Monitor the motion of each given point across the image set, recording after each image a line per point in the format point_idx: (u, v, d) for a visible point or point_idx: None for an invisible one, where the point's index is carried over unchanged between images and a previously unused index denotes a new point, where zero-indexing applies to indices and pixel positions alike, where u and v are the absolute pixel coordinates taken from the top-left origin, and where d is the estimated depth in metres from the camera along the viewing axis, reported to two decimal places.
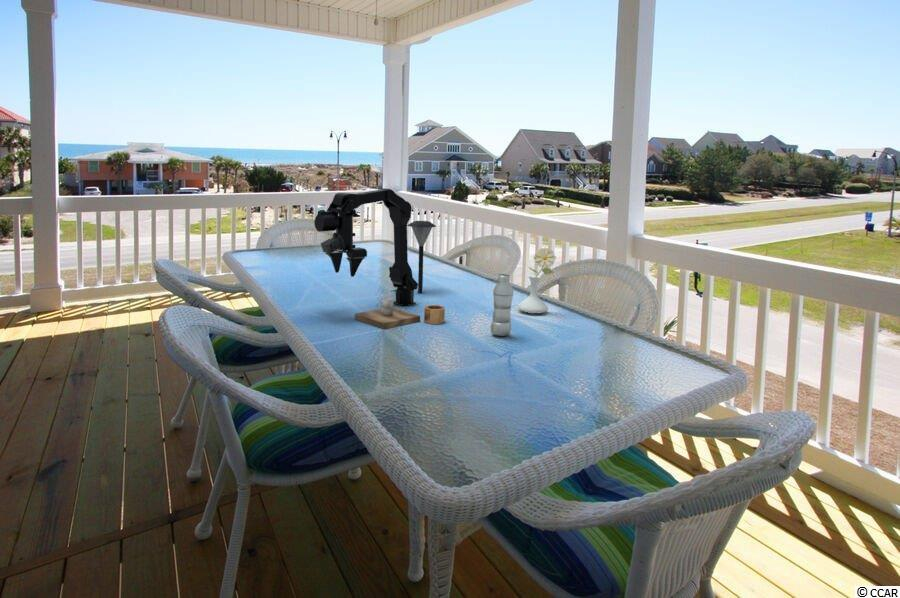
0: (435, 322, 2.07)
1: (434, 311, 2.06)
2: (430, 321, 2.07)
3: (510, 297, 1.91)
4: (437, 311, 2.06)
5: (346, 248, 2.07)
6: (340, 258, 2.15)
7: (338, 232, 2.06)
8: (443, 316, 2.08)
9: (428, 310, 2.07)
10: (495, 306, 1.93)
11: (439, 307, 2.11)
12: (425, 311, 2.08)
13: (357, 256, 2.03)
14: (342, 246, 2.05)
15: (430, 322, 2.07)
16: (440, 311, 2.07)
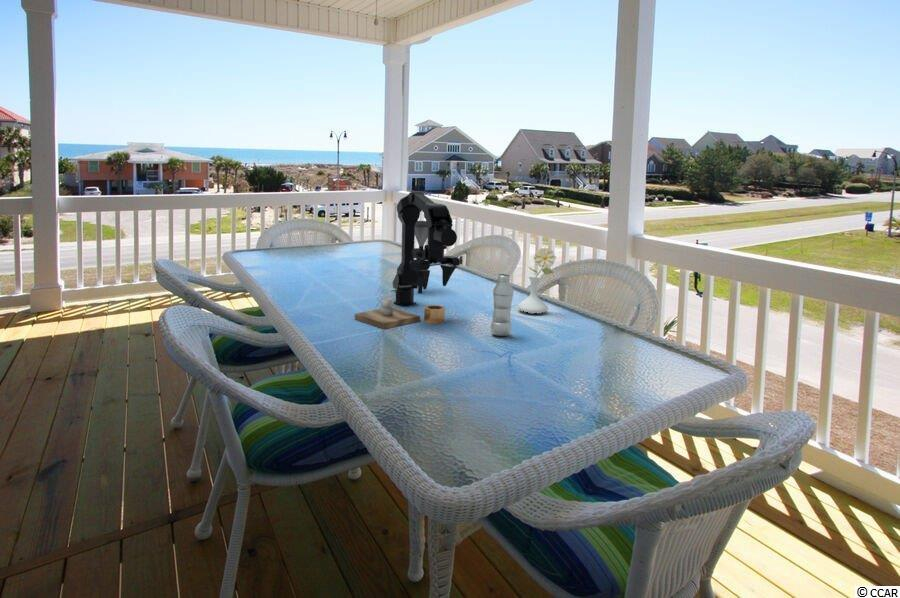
0: (435, 322, 2.07)
1: (434, 311, 2.06)
2: (430, 321, 2.07)
3: (510, 297, 1.91)
4: (437, 311, 2.06)
5: (427, 260, 2.05)
6: (448, 272, 2.09)
7: None
8: (443, 316, 2.08)
9: (428, 310, 2.07)
10: (495, 306, 1.93)
11: (439, 307, 2.11)
12: (425, 311, 2.08)
13: (412, 267, 2.01)
14: (423, 257, 2.06)
15: (430, 322, 2.07)
16: (440, 311, 2.07)
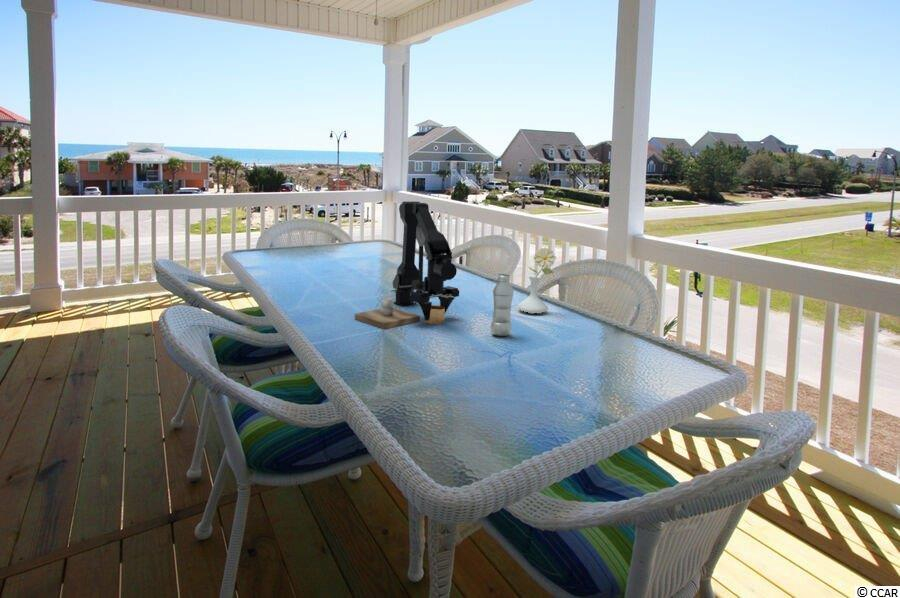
0: (435, 322, 2.07)
1: (434, 311, 2.06)
2: (430, 321, 2.07)
3: (510, 297, 1.91)
4: (437, 311, 2.06)
5: (427, 292, 2.07)
6: (446, 303, 2.11)
7: None
8: (443, 316, 2.08)
9: None
10: (495, 306, 1.93)
11: (439, 307, 2.11)
12: None
13: (412, 299, 2.03)
14: (423, 288, 2.08)
15: (430, 322, 2.07)
16: (440, 311, 2.07)
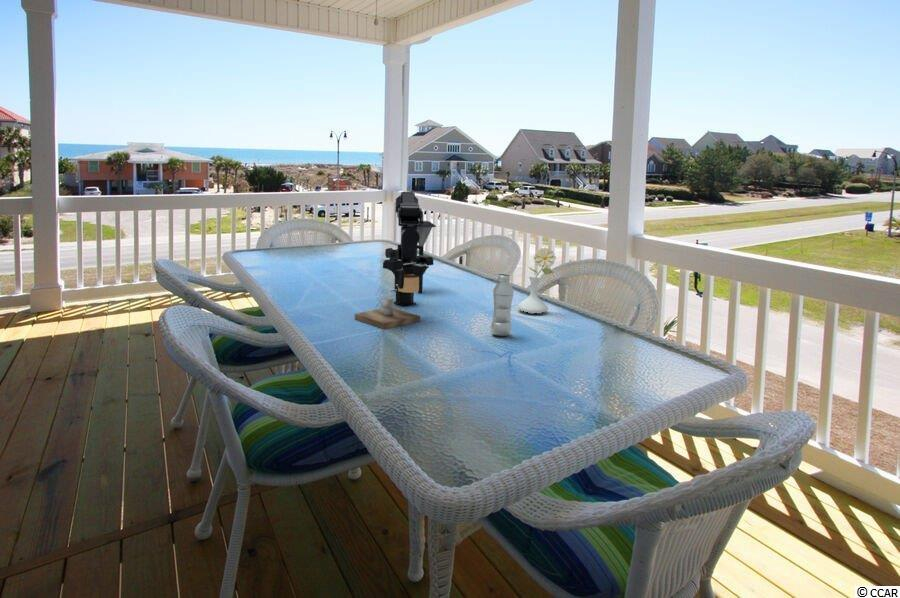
0: (409, 290, 2.04)
1: (408, 279, 2.03)
2: (404, 289, 2.04)
3: (510, 297, 1.91)
4: (411, 279, 2.03)
5: None
6: (420, 272, 2.08)
7: None
8: (417, 284, 2.05)
9: None
10: (495, 306, 1.93)
11: (413, 276, 2.09)
12: None
13: (385, 267, 2.00)
14: (397, 256, 2.05)
15: (404, 290, 2.04)
16: (414, 279, 2.04)
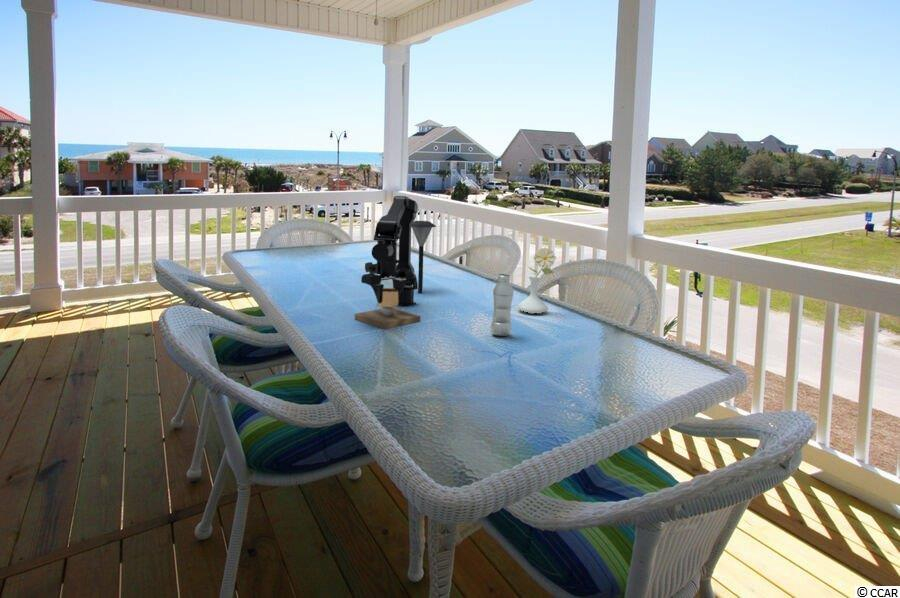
0: (388, 305, 2.05)
1: (386, 293, 2.04)
2: (383, 304, 2.05)
3: (510, 297, 1.91)
4: (390, 293, 2.04)
5: (380, 274, 2.05)
6: (399, 286, 2.09)
7: None
8: (396, 299, 2.06)
9: None
10: (495, 306, 1.93)
11: (393, 290, 2.09)
12: None
13: (363, 281, 2.01)
14: (376, 271, 2.06)
15: (383, 305, 2.05)
16: (393, 294, 2.05)
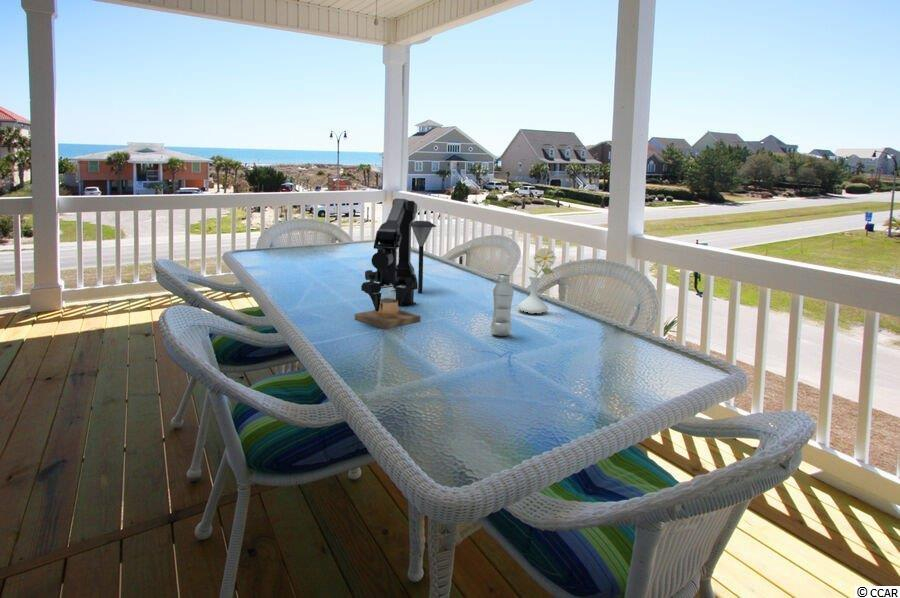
0: (388, 315, 2.06)
1: (386, 304, 2.05)
2: (383, 314, 2.06)
3: (510, 297, 1.91)
4: (389, 304, 2.05)
5: None
6: (401, 294, 2.10)
7: None
8: (396, 309, 2.07)
9: (381, 303, 2.05)
10: (495, 306, 1.93)
11: (393, 300, 2.10)
12: None
13: (363, 289, 2.02)
14: (376, 279, 2.07)
15: (383, 315, 2.06)
16: (393, 304, 2.06)
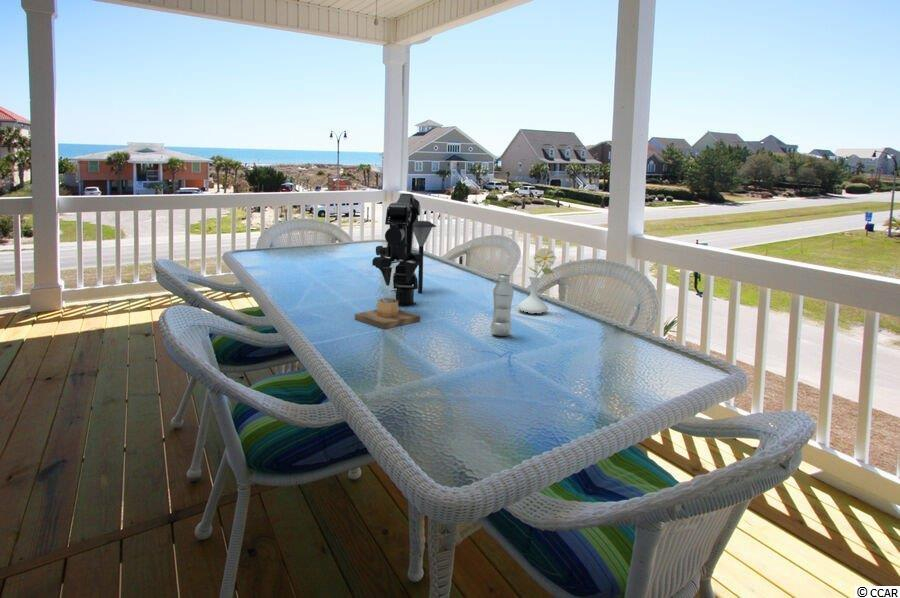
0: (388, 315, 2.06)
1: (386, 304, 2.05)
2: (383, 314, 2.06)
3: (510, 297, 1.91)
4: (389, 304, 2.05)
5: (390, 257, 2.11)
6: (411, 269, 2.16)
7: None
8: (396, 309, 2.07)
9: (381, 303, 2.05)
10: (495, 306, 1.93)
11: (393, 300, 2.10)
12: (378, 304, 2.07)
13: (374, 264, 2.07)
14: (386, 254, 2.12)
15: (383, 315, 2.06)
16: (393, 304, 2.06)
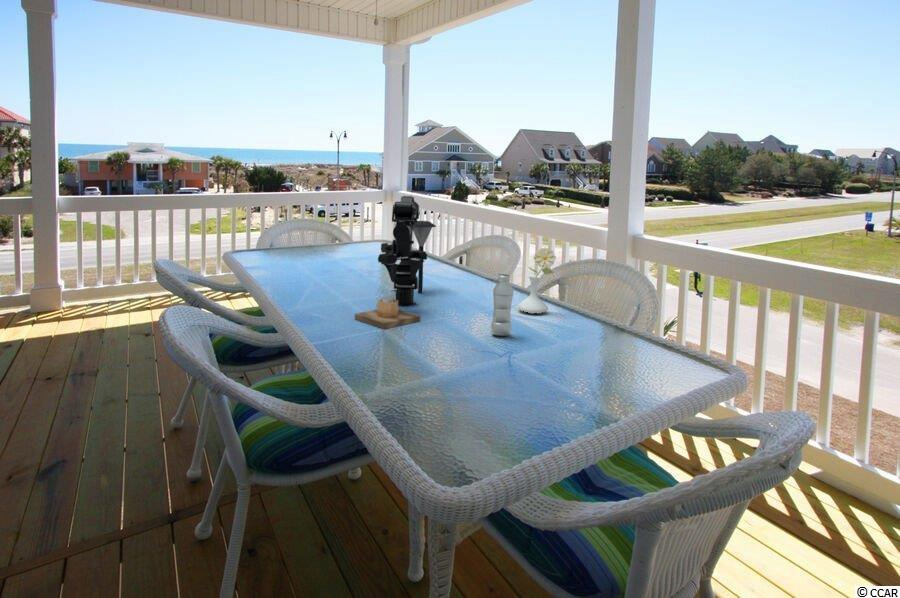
0: (388, 315, 2.06)
1: (386, 304, 2.05)
2: (383, 314, 2.06)
3: (510, 297, 1.91)
4: (389, 304, 2.05)
5: (395, 254, 2.15)
6: (416, 266, 2.19)
7: None
8: (396, 309, 2.07)
9: (381, 303, 2.05)
10: (495, 306, 1.93)
11: (393, 300, 2.10)
12: (378, 304, 2.07)
13: (380, 261, 2.11)
14: (391, 251, 2.16)
15: (383, 315, 2.06)
16: (393, 304, 2.06)
